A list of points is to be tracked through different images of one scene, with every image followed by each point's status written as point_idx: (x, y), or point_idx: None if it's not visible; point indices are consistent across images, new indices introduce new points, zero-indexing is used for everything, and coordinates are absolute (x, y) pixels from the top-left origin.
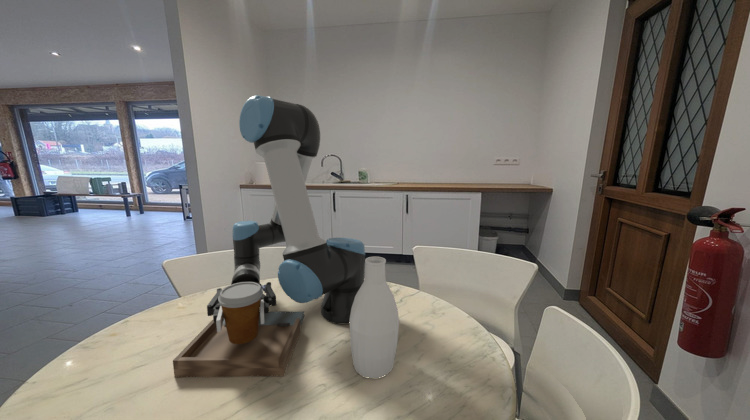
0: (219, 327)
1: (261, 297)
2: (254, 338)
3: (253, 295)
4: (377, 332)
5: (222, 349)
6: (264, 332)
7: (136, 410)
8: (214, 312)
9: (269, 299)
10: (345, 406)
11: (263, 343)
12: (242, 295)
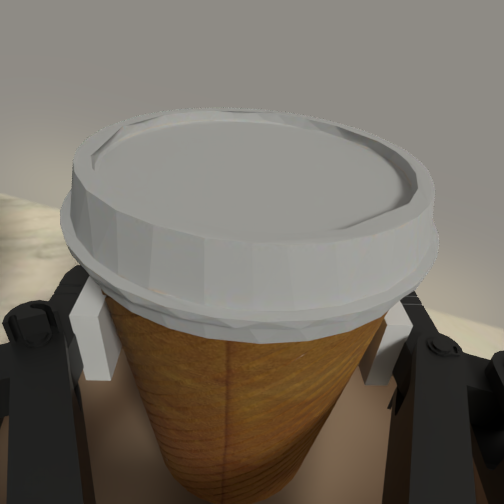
0: None
1: (68, 367)
2: (178, 484)
3: (166, 120)
4: None
5: (328, 441)
6: None
7: (467, 325)
8: (419, 307)
9: (6, 359)
10: (38, 213)
11: (141, 421)
12: (238, 133)
